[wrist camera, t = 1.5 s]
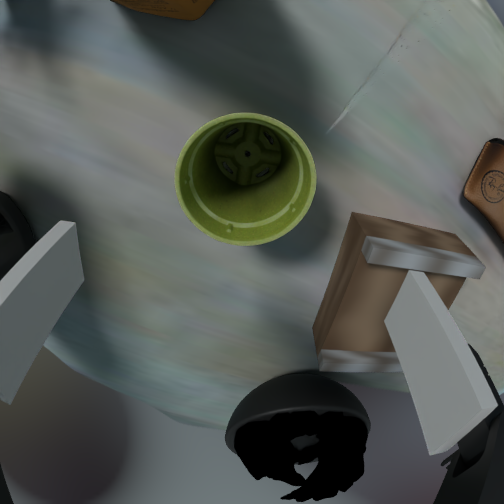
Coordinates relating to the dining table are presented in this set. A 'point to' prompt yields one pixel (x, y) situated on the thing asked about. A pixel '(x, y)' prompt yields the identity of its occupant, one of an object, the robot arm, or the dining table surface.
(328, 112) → the dining table surface
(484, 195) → the sunglasses case
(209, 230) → the plant pot
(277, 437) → the coal bowl
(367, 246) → the raised riser
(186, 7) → the brown tall tapered bottle
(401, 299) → the robot arm
